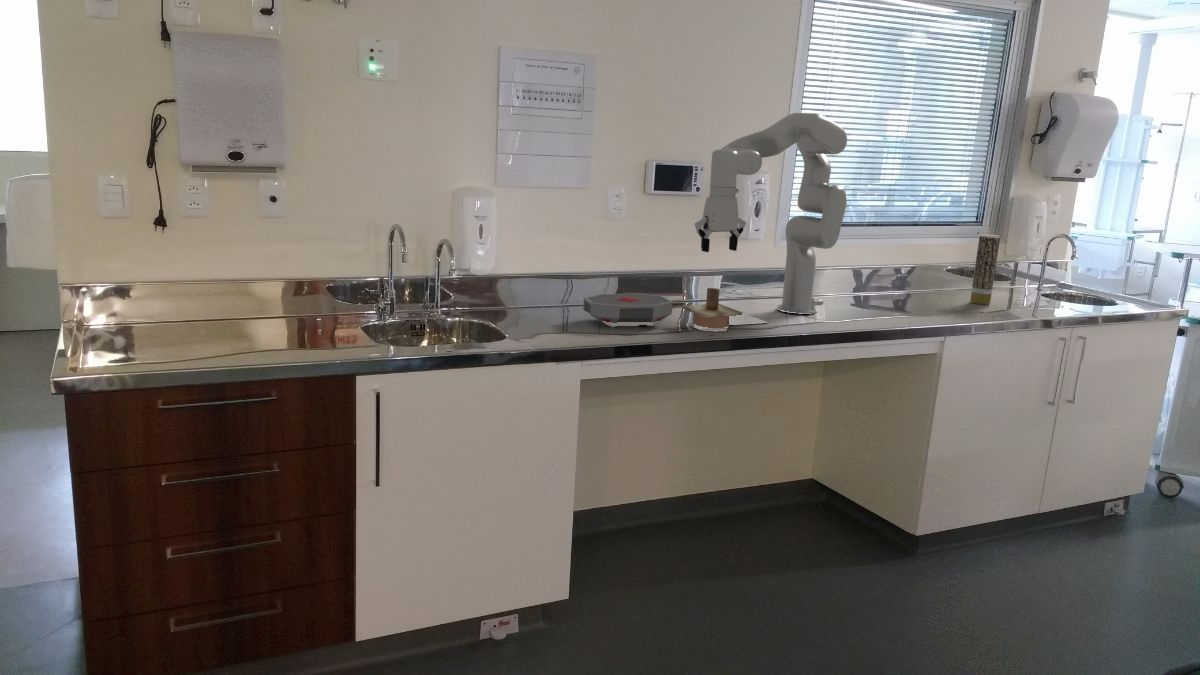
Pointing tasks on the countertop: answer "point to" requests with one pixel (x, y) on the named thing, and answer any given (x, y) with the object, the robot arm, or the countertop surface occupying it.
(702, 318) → the bowl
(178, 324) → the countertop surface
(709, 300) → the cover
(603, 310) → the first aid kit
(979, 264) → the bark textured cylinder
